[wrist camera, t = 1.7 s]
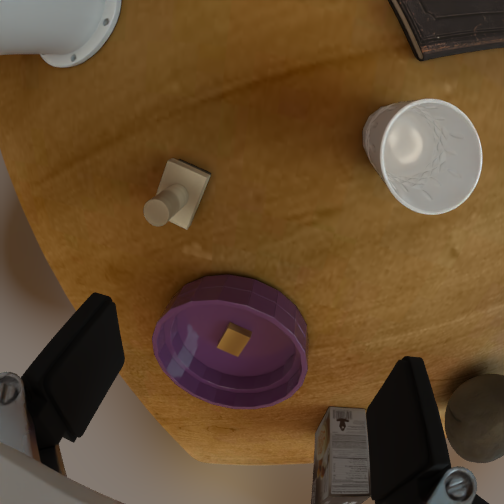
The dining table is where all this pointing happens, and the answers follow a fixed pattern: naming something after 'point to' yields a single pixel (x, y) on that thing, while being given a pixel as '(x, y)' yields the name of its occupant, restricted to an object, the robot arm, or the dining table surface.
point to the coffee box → (341, 458)
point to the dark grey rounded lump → (477, 418)
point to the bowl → (223, 363)
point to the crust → (234, 339)
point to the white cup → (424, 153)
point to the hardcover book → (450, 25)
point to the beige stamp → (177, 194)
